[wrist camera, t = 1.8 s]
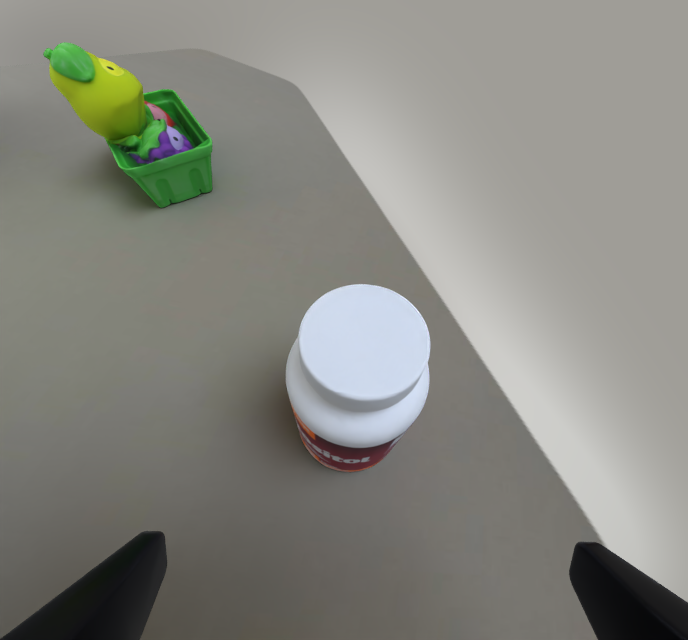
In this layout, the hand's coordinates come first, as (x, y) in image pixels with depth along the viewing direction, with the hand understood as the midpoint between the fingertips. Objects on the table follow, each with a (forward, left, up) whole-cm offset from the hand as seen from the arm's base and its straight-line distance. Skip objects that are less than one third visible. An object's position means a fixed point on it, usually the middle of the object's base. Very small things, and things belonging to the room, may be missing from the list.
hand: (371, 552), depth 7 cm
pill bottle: (+4, -4, -12) cm, 14 cm away
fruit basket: (+34, -7, -12) cm, 37 cm away
